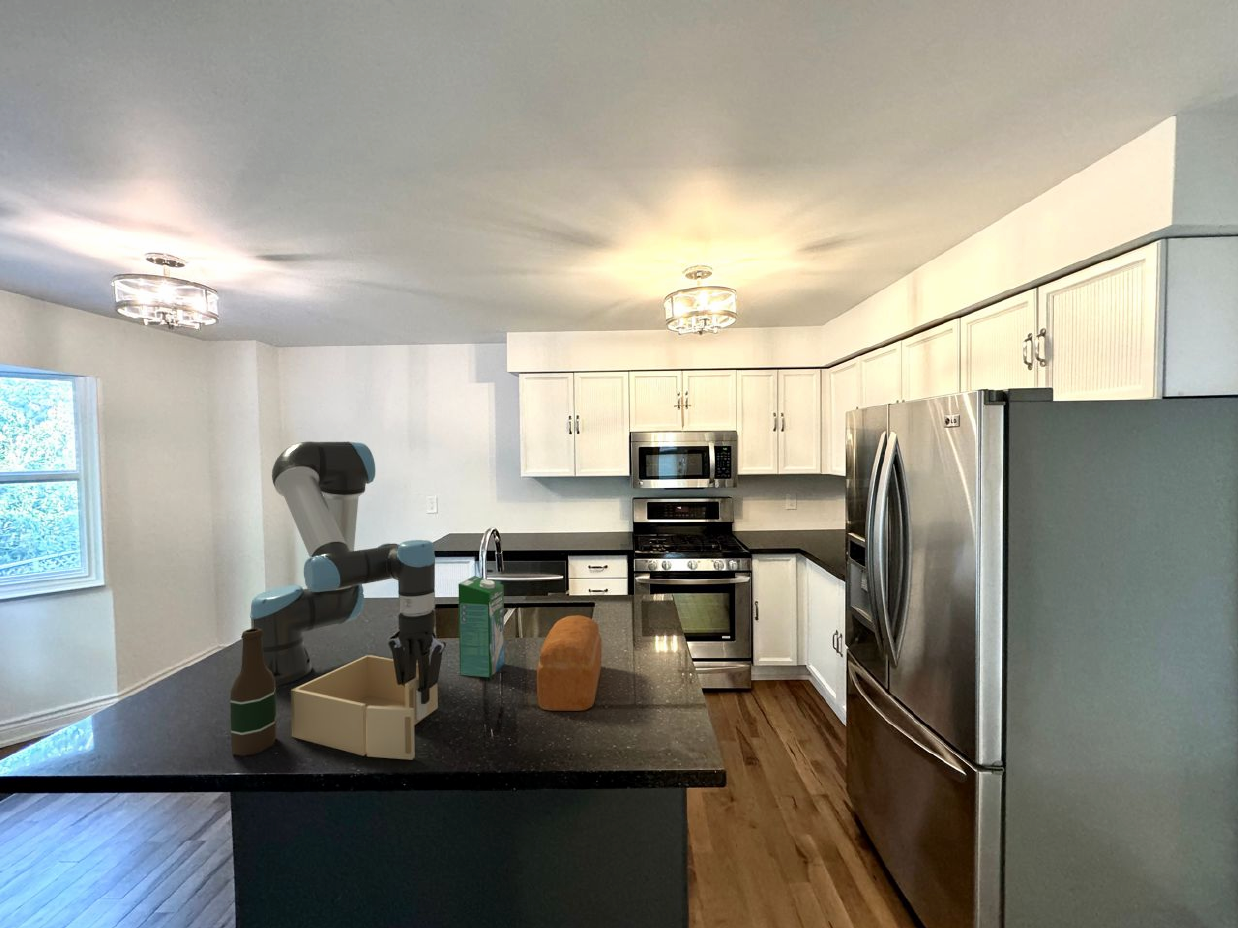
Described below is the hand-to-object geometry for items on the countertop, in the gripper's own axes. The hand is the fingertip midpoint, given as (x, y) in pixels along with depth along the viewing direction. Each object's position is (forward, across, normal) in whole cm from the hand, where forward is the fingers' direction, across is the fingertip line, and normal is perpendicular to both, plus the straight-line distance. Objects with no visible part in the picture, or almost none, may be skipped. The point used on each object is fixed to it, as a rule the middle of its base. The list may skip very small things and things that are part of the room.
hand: (417, 716), depth 112 cm
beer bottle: (+2, -27, -15) cm, 31 cm away
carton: (+2, -12, -2) cm, 12 cm away
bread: (+1, +28, +24) cm, 37 cm away
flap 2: (+1, 0, +2) cm, 2 cm away
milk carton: (+2, 0, +29) cm, 29 cm away
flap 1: (+1, +3, -13) cm, 13 cm away
